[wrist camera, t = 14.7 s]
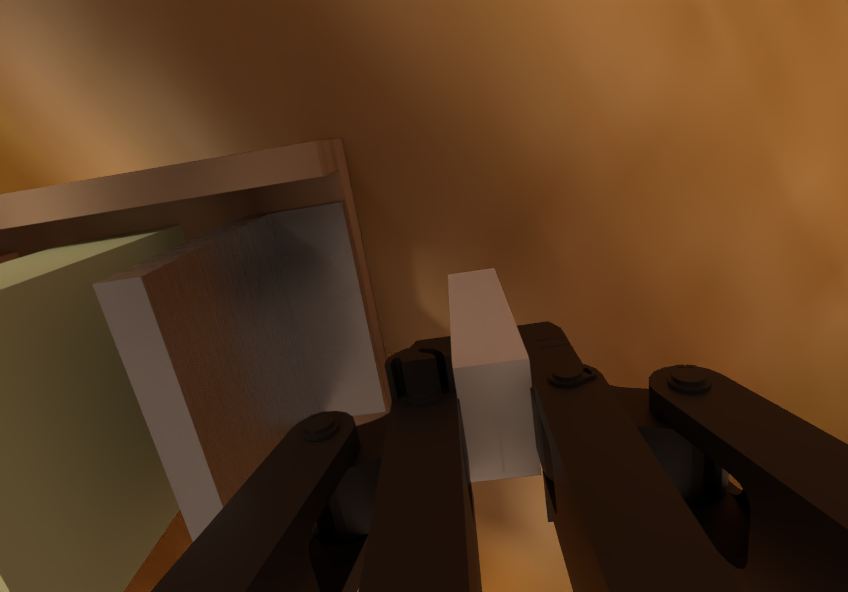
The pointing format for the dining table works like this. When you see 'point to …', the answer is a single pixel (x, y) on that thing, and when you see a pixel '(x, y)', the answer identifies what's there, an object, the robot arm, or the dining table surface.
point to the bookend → (243, 345)
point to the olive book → (74, 425)
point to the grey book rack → (190, 205)
